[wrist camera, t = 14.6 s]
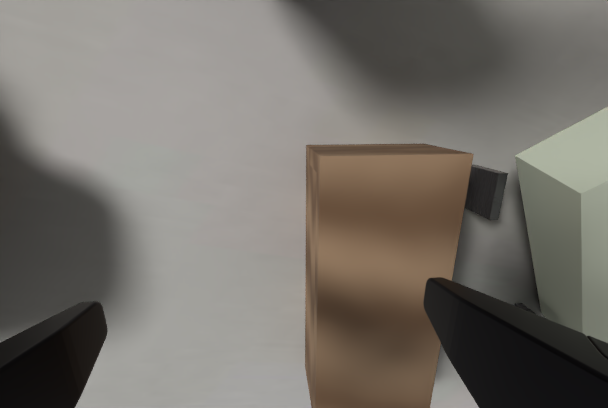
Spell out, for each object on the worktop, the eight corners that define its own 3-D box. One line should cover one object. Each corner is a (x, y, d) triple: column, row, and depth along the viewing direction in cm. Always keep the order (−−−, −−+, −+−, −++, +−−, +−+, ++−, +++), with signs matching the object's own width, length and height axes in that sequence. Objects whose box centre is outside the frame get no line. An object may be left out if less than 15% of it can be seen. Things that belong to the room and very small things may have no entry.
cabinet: (306, 145, 19) (320, 156, 14) (563, 142, 21) (648, 151, 17) (305, 366, 24) (315, 428, 20) (510, 345, 27) (563, 396, 22)
